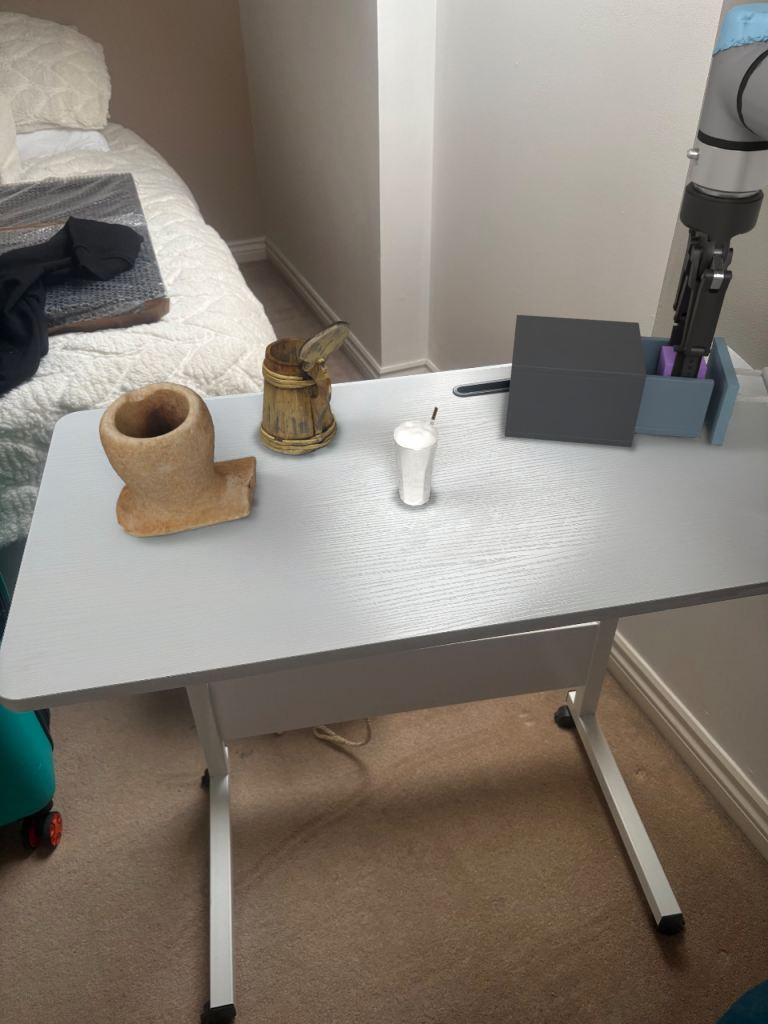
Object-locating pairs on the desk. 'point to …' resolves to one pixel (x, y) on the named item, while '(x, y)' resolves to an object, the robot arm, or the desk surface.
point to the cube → (668, 362)
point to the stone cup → (171, 463)
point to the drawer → (692, 394)
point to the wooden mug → (300, 391)
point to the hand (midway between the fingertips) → (675, 387)
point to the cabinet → (575, 380)
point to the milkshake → (415, 459)
